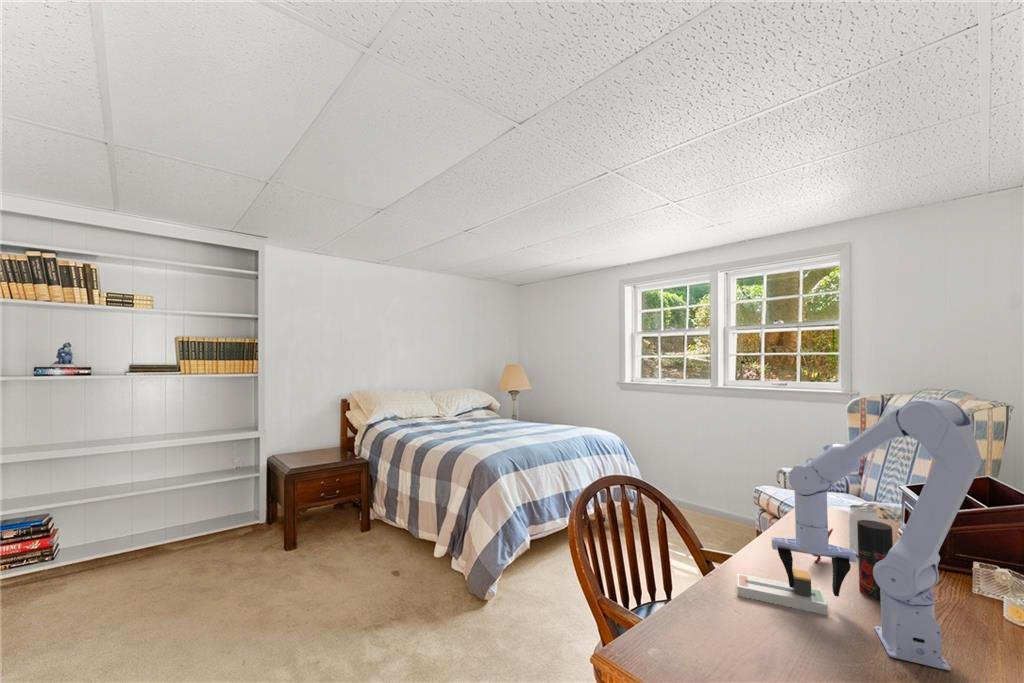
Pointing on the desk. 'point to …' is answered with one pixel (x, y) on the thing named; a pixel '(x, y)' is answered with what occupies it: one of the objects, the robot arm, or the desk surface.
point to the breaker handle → (802, 582)
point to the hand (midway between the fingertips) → (813, 589)
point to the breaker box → (780, 594)
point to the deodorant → (872, 554)
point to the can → (855, 515)
